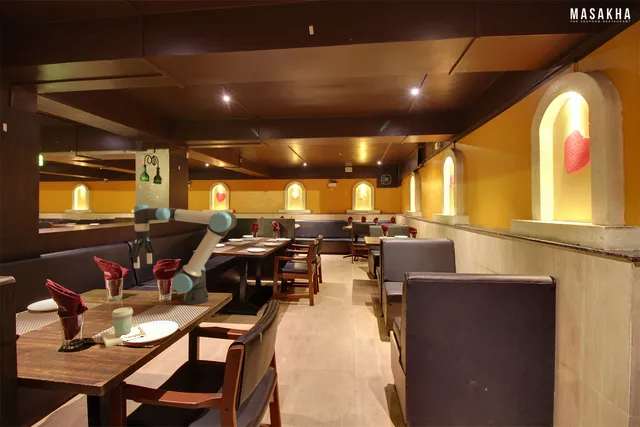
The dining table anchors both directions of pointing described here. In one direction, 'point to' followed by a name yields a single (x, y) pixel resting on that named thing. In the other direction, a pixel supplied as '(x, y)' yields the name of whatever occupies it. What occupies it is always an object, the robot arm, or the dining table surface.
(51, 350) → the dining table surface
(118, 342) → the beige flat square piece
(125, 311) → the coffee cup
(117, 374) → the dining table surface
